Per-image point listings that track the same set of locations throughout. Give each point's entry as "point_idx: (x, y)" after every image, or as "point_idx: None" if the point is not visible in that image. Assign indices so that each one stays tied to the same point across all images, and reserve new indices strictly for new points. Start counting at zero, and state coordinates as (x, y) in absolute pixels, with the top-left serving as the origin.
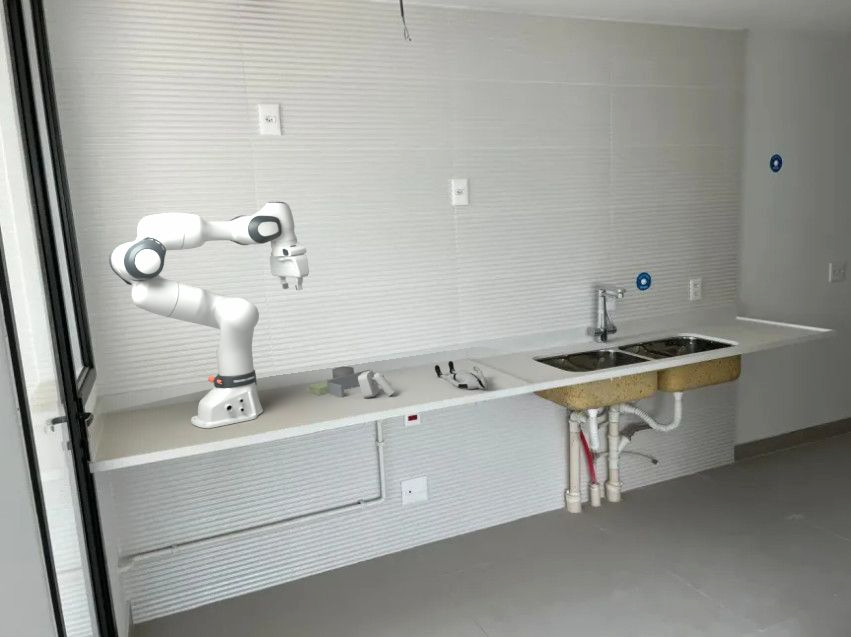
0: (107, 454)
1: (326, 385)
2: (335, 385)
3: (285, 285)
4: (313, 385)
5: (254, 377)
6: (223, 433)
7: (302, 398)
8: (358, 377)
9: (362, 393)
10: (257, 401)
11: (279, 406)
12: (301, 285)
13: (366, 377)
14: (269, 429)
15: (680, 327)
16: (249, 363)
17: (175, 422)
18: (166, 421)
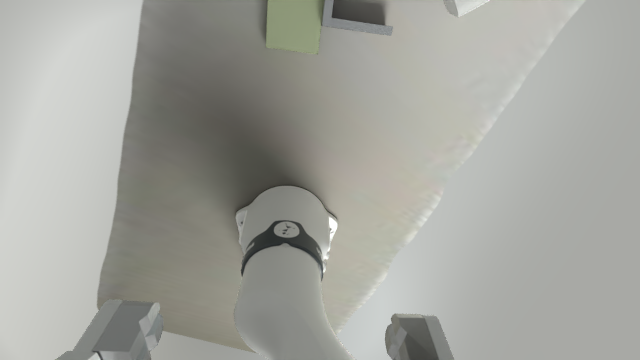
0: None
1: (309, 17)
2: (365, 31)
3: (148, 353)
4: (277, 39)
5: (315, 247)
6: (352, 271)
7: (301, 93)
8: (460, 12)
9: (450, 13)
10: (317, 215)
11: (309, 157)
12: (448, 354)
13: (487, 1)
14: (401, 232)
15: None
16: (318, 280)
17: (239, 285)
18: (222, 290)
